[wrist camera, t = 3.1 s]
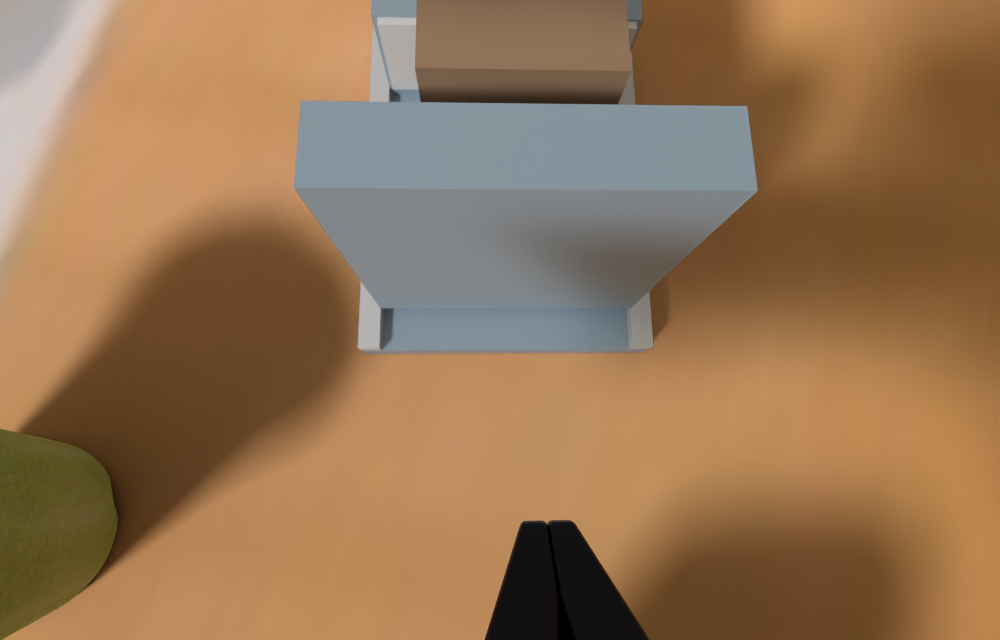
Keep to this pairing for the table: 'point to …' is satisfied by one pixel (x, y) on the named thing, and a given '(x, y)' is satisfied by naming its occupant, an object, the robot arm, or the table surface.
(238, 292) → the table surface
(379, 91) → the light blue base plate
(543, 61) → the block
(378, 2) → the fixed jaw
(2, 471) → the plant pot
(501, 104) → the jaw
